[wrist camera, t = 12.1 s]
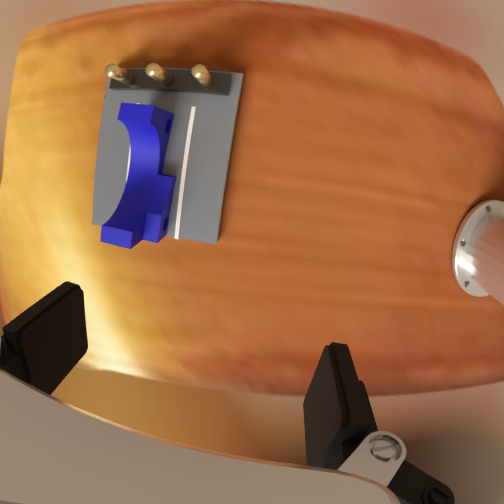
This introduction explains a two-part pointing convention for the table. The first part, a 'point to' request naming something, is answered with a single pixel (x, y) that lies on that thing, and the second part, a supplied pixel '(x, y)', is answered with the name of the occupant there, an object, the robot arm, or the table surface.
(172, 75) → the brass pins
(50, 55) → the table surface
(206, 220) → the header board
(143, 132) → the blue curved bracket
